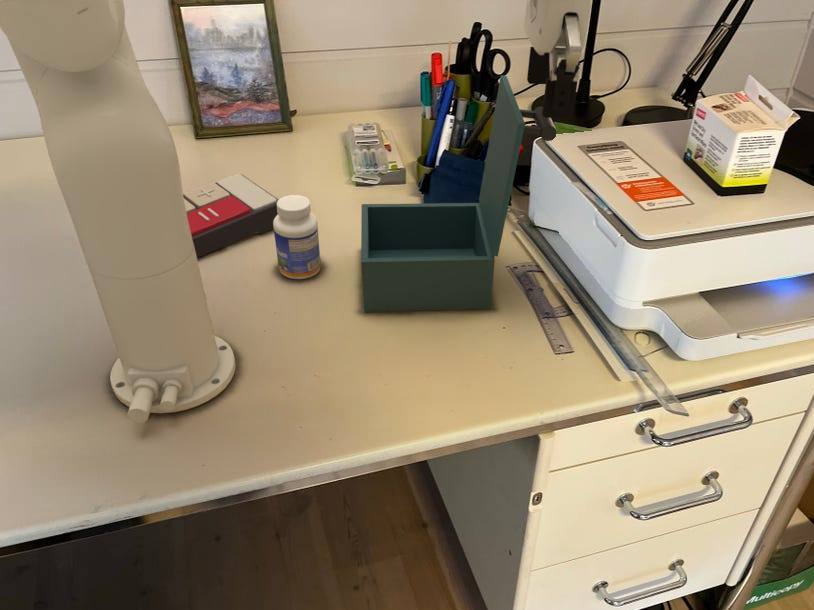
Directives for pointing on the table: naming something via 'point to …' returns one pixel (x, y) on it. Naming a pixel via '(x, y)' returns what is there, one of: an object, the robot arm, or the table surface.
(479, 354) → the table surface
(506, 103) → the lid
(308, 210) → the pill bottle
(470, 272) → the case
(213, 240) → the calculator
